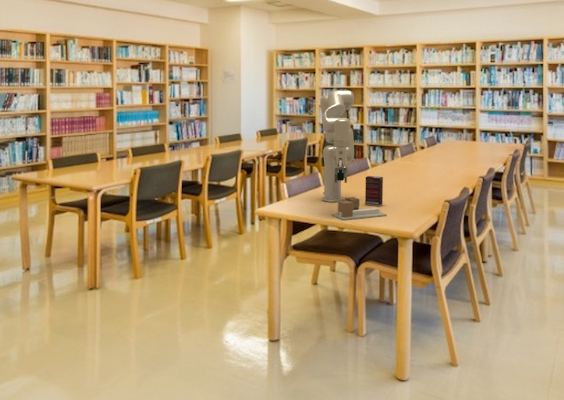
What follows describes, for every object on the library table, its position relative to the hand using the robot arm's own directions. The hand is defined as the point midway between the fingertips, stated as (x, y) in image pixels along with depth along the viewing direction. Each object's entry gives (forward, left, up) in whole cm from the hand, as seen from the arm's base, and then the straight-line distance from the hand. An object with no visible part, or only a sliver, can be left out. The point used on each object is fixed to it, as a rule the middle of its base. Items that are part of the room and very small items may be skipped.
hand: (340, 179), depth 297 cm
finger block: (0, 0, -2) cm, 2 cm away
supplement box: (-12, +28, -18) cm, 35 cm away
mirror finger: (-3, +9, -18) cm, 20 cm away
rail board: (+8, +7, -18) cm, 21 cm away
